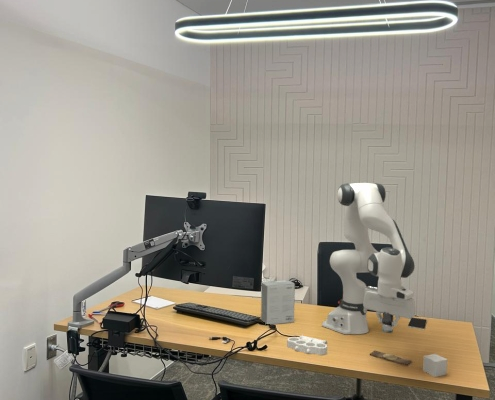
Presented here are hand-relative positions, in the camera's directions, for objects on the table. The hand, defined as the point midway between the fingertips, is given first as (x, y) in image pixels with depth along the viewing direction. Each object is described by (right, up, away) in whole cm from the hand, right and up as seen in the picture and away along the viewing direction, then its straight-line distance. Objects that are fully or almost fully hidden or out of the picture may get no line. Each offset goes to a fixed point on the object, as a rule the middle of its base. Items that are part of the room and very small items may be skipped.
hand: (387, 324), depth 186 cm
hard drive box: (-40, -13, +53) cm, 68 cm away
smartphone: (+31, -15, +54) cm, 64 cm away
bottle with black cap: (0, -3, 0) cm, 3 cm away
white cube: (+17, -18, -4) cm, 25 cm away
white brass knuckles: (-29, -16, +18) cm, 38 cm away
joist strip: (+4, -16, +9) cm, 19 cm away
